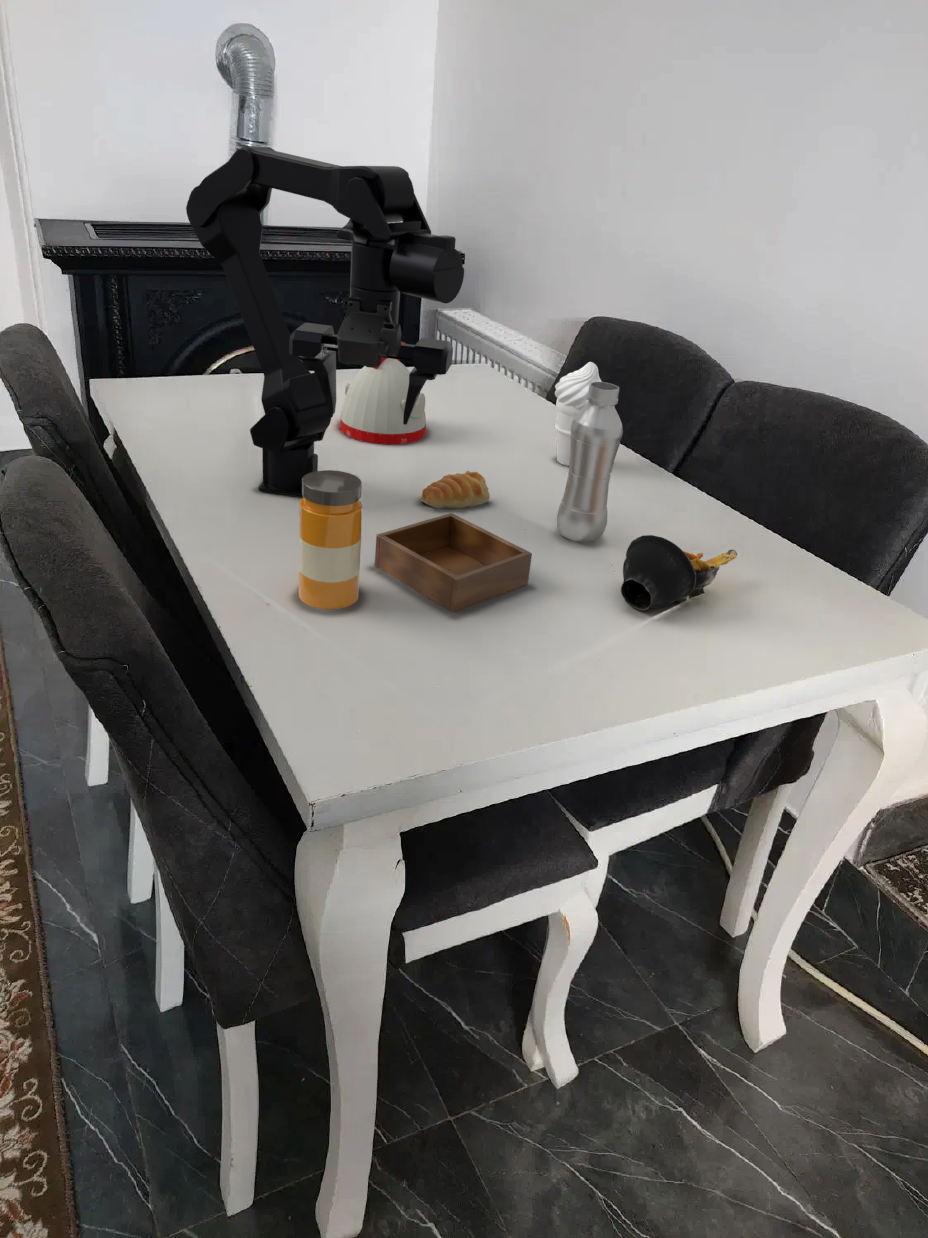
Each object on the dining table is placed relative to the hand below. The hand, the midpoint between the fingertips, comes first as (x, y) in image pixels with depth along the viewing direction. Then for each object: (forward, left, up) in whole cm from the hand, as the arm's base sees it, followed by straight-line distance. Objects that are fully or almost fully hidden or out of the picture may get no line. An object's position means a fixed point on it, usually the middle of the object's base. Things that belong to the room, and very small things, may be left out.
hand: (368, 418), depth 113 cm
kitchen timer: (-5, +35, -13) cm, 38 cm away
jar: (+1, -23, -13) cm, 26 cm away
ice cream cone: (+26, +32, -13) cm, 43 cm away
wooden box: (+13, -14, -13) cm, 23 cm away
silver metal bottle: (+28, +3, -13) cm, 31 cm away
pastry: (+11, +9, -13) cm, 19 cm away
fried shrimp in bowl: (+40, -10, -13) cm, 43 cm away
